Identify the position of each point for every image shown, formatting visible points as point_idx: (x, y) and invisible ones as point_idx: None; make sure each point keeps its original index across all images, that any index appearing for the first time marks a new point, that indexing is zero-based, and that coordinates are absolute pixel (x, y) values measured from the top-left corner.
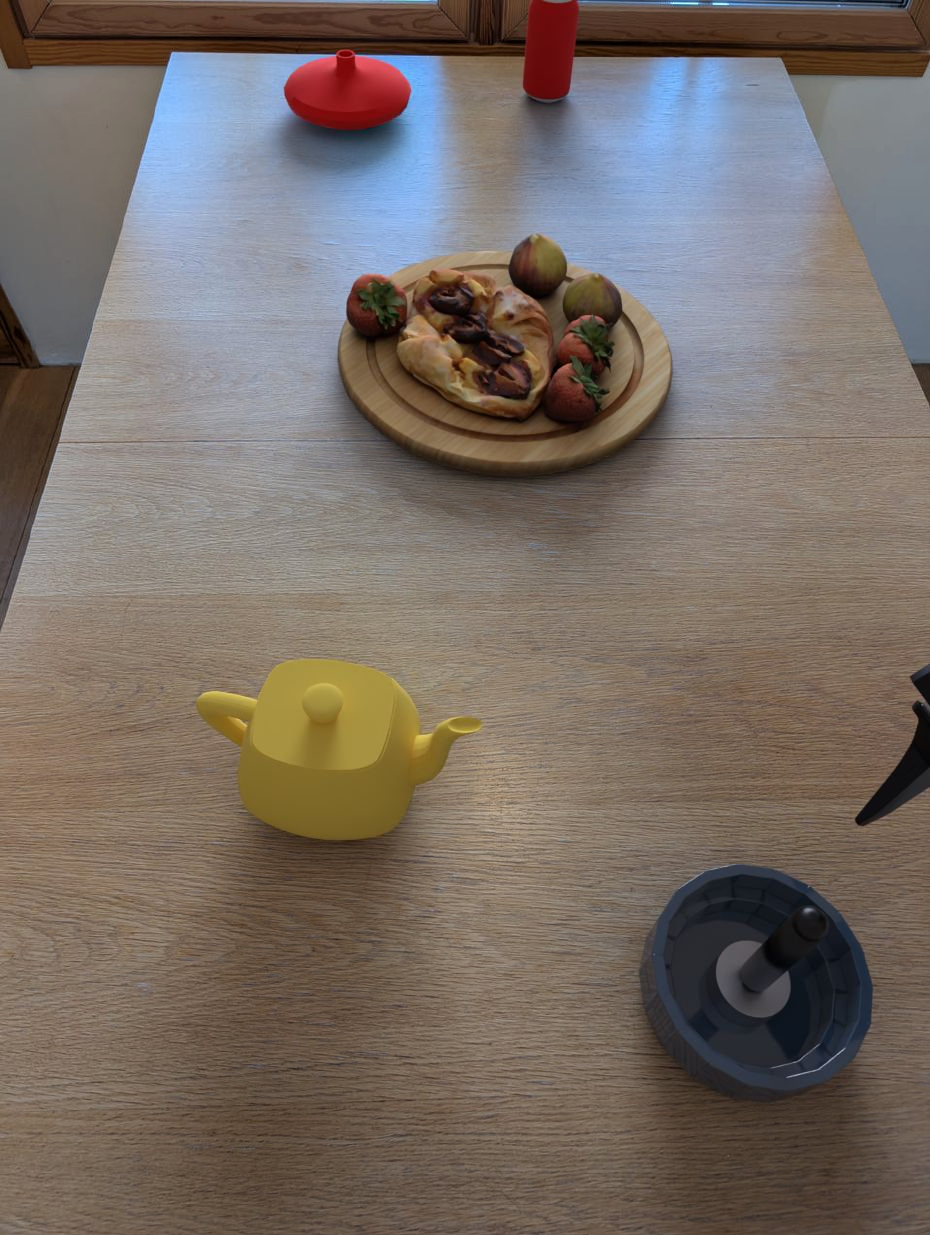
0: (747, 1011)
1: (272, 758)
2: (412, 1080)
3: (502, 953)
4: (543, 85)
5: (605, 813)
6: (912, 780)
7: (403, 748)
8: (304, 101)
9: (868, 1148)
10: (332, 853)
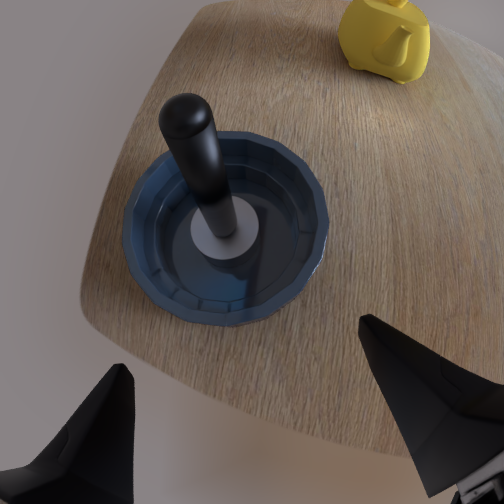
0: (197, 213)
1: None
2: (216, 68)
3: (277, 102)
4: None
5: (379, 177)
6: (431, 385)
7: (388, 32)
8: None
9: (112, 301)
10: (336, 53)
